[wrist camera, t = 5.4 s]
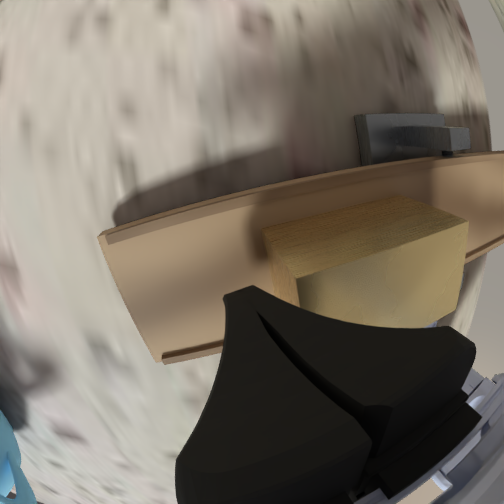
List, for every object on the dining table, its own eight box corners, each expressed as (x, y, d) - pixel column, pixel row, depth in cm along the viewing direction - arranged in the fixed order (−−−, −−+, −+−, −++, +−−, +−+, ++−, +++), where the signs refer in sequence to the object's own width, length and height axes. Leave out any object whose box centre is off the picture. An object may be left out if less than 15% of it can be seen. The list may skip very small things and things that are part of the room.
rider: (400, 267, 13) (455, 309, 9) (277, 308, 13) (309, 376, 9) (399, 194, 12) (468, 221, 8) (260, 228, 11) (295, 278, 7)
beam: (535, 218, 17) (573, 236, 11) (159, 356, 14) (151, 446, 8) (538, 146, 14) (580, 159, 8) (100, 224, 11) (36, 288, 5)
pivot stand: (436, 261, 20) (477, 282, 16) (368, 298, 18) (413, 332, 14) (433, 114, 15) (484, 116, 11) (354, 115, 13) (416, 111, 9)
